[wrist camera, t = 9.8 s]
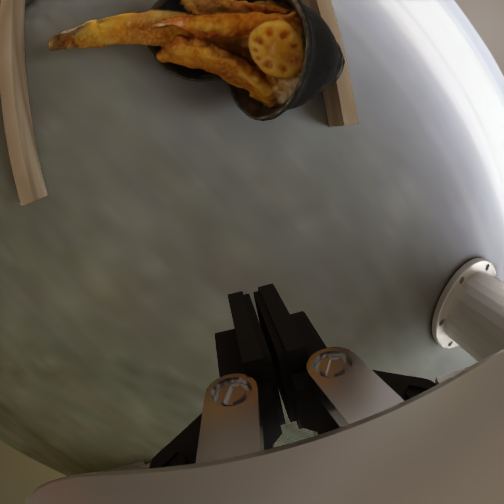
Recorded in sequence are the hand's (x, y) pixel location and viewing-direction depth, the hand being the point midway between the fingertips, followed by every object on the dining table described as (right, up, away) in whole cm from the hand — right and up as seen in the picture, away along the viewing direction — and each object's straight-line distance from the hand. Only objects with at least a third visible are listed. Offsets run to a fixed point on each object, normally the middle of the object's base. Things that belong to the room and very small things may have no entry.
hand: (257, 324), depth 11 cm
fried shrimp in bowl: (-4, +17, +7) cm, 19 cm away
